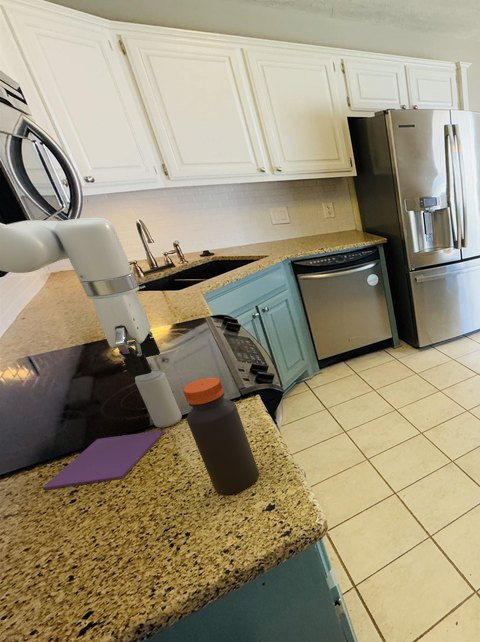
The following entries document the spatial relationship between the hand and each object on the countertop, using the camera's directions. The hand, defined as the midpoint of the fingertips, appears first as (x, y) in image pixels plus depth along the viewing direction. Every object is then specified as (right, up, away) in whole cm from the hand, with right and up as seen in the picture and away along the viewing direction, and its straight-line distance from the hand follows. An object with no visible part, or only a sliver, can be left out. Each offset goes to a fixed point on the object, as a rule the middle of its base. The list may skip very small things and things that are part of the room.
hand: (146, 364), depth 84 cm
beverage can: (0, -13, +6) cm, 14 cm away
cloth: (-2, -18, -5) cm, 19 cm away
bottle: (+27, -20, -11) cm, 35 cm away
